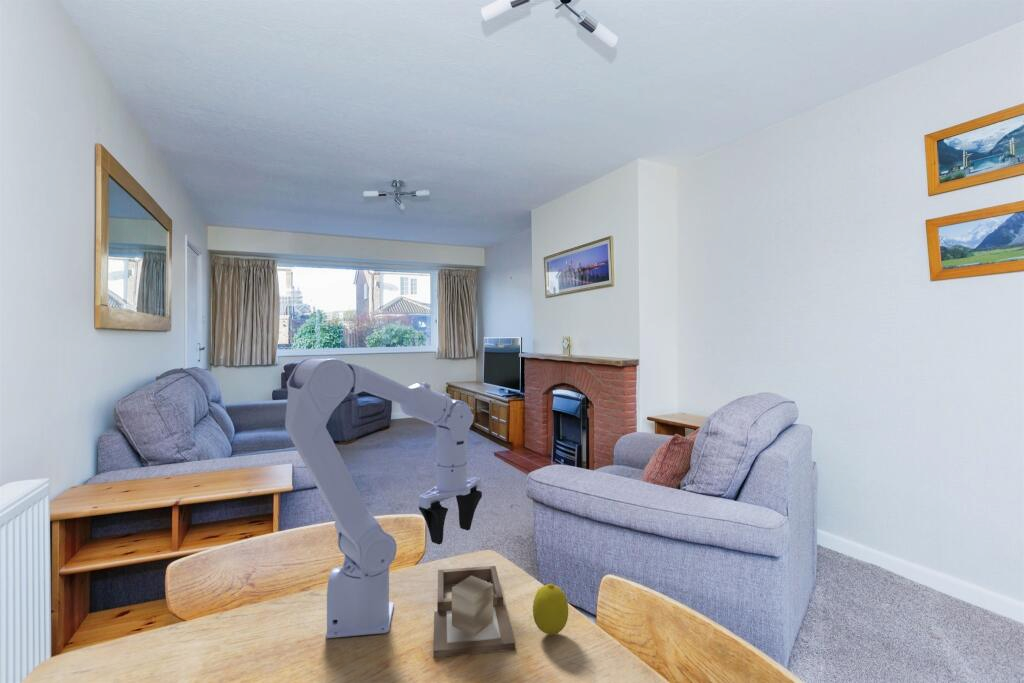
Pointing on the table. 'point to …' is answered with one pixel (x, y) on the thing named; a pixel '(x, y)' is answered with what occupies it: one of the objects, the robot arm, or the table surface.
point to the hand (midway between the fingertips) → (451, 535)
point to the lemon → (550, 609)
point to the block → (472, 605)
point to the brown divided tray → (458, 641)
